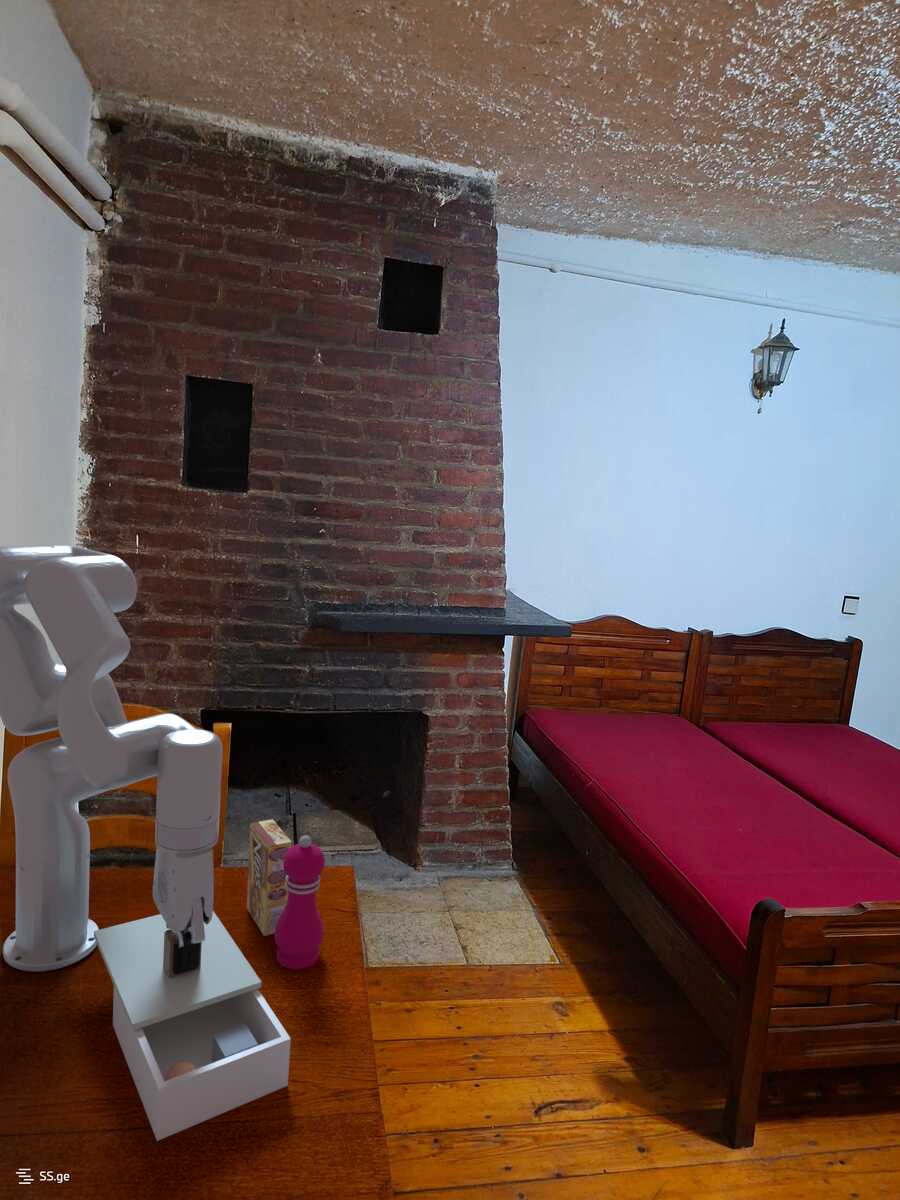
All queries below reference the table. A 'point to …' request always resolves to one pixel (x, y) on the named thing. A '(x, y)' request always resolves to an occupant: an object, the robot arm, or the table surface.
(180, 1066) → the coral ball
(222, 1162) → the table surface
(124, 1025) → the storage box
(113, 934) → the lid
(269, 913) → the candy box
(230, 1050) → the slate block
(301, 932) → the pepper mill
